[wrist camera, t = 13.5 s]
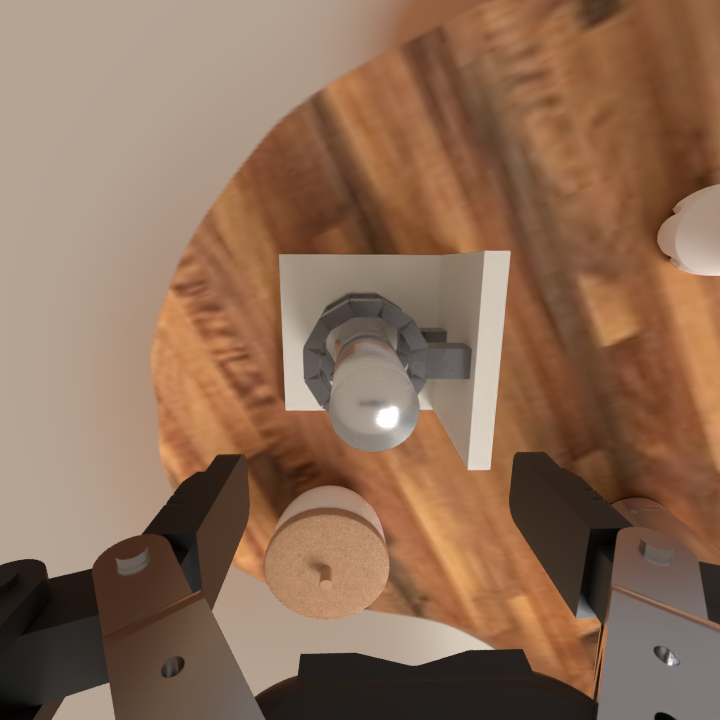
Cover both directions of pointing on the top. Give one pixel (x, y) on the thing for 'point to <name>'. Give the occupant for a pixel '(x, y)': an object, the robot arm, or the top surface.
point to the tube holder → (429, 310)
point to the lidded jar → (327, 554)
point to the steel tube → (370, 389)
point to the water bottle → (694, 233)
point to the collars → (414, 348)
